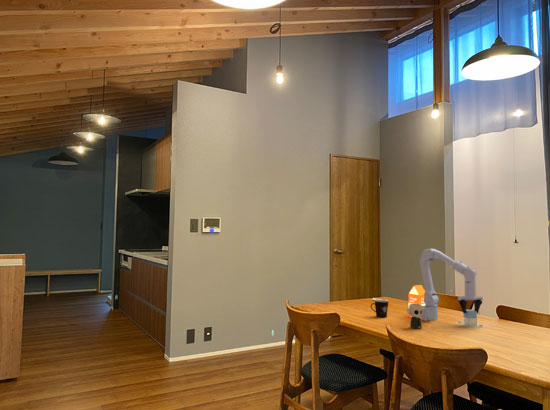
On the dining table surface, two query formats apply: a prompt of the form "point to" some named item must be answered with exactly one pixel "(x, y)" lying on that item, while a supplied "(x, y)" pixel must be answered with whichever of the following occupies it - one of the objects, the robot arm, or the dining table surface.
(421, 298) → the orange juice
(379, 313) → the coffee mug
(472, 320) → the cream block
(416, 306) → the toy figurine
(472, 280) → the robot arm
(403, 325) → the dining table surface
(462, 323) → the baseplate
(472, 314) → the blue block
